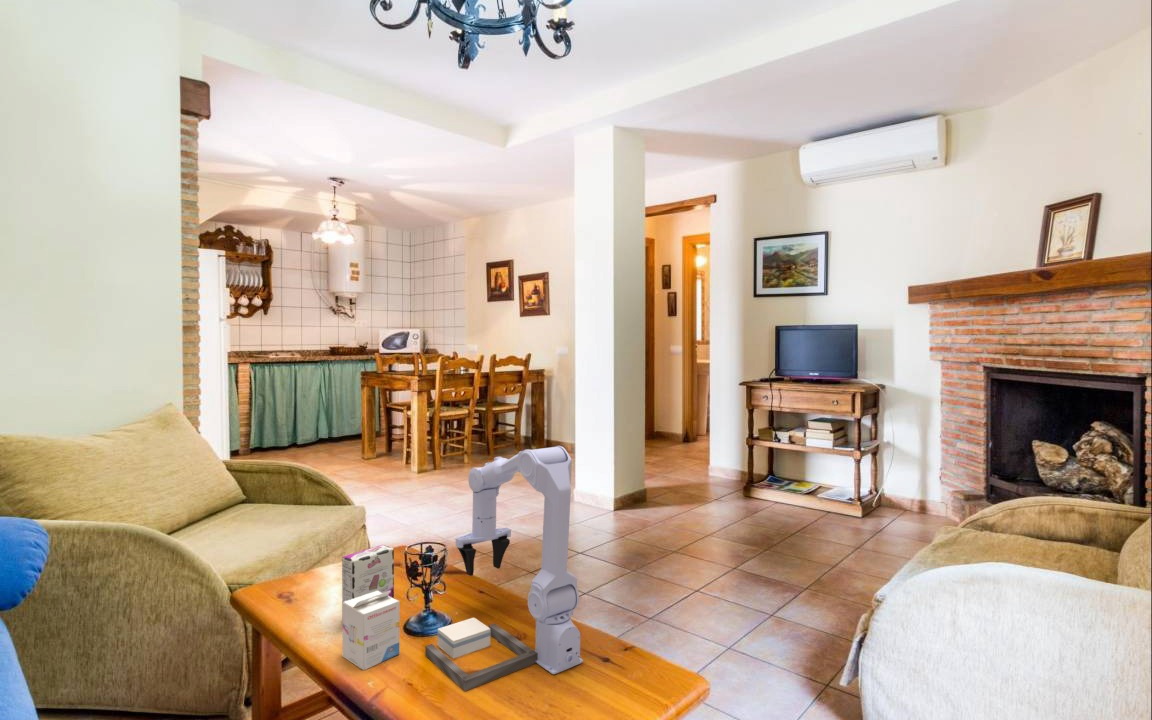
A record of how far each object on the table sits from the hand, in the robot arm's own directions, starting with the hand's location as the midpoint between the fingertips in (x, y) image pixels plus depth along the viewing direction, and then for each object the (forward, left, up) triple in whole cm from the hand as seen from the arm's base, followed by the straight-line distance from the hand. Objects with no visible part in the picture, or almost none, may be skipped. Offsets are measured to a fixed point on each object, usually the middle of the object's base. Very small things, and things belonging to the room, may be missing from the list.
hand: (483, 570), depth 149 cm
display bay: (-20, +12, -10) cm, 25 cm away
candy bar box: (+12, +24, -10) cm, 29 cm away
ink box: (-4, +29, -10) cm, 31 cm away
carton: (-12, +12, -10) cm, 20 cm away
